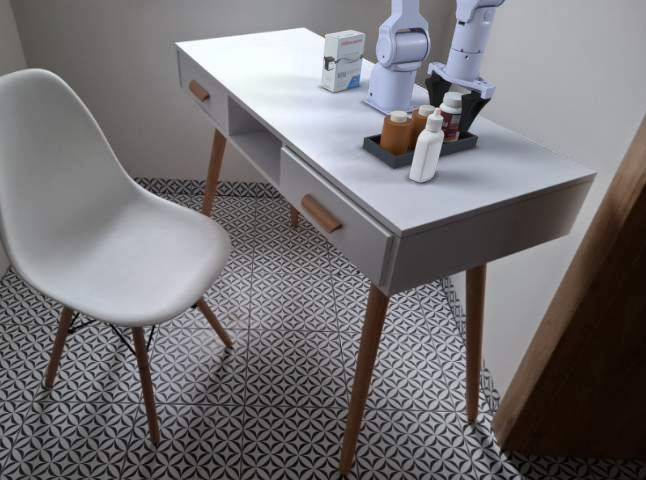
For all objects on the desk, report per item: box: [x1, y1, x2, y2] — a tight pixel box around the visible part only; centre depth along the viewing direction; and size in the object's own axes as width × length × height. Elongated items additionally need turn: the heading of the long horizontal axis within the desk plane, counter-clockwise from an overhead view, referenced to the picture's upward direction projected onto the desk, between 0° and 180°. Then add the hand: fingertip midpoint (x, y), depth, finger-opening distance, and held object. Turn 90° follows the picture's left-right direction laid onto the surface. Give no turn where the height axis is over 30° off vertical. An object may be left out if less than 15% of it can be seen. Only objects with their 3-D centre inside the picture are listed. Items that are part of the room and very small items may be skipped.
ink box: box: [320, 29, 366, 93], centre depth 119 cm, size 8×5×12 cm, turn 128°
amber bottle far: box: [380, 111, 413, 156], centre depth 93 cm, size 5×5×7 cm
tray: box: [362, 130, 479, 169], centre depth 97 cm, size 9×20×2 cm, turn 119°
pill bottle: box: [440, 91, 464, 143], centre depth 97 cm, size 5×5×8 cm
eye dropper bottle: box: [408, 108, 444, 184], centre depth 85 cm, size 4×6×12 cm
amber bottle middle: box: [408, 104, 435, 149], centre depth 95 cm, size 5×5×7 cm
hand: (448, 123), depth 98 cm, fingers open, 7 cm apart
